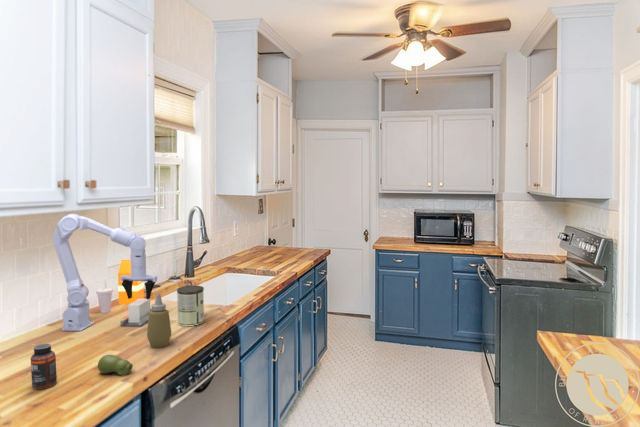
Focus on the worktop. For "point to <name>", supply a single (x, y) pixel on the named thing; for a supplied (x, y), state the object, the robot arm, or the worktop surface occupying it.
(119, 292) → the orange juice
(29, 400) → the worktop surface
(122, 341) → the worktop surface
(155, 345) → the squeeze bottle
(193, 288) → the coffee can
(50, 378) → the supplement bottle
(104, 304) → the smoothie
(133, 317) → the white rectangular block
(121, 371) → the green lumpy rounded piece
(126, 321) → the dark grey tray
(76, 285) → the robot arm
